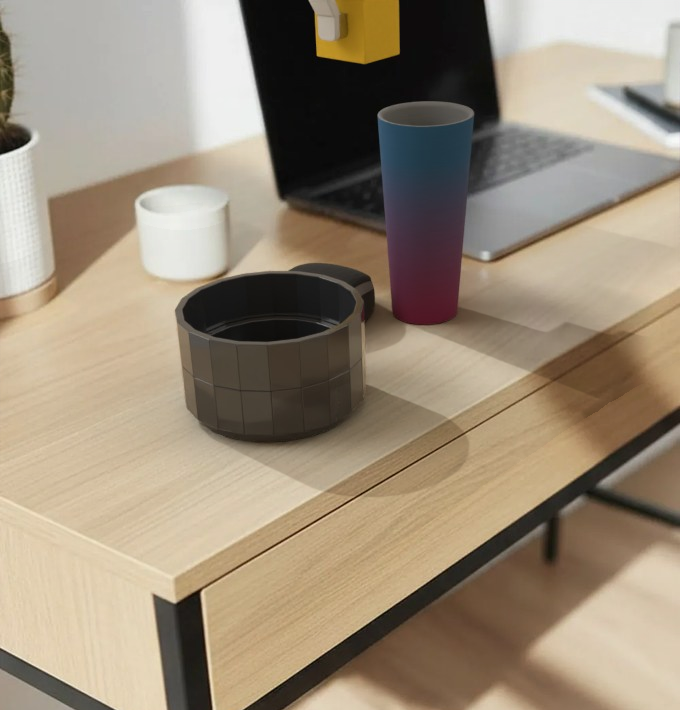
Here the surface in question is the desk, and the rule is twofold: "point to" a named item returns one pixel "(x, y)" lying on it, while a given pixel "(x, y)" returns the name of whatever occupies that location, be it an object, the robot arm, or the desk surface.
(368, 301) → the computer mouse
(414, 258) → the cup
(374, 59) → the cube
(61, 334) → the desk surface
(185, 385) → the bowl
